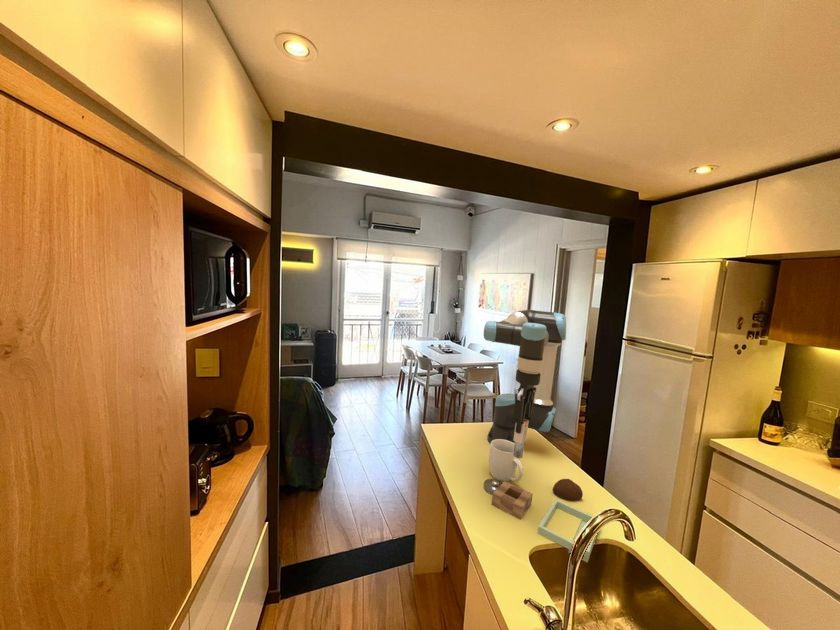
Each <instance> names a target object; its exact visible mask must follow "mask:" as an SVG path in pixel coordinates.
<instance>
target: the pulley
mask: <svg viewBox="0 0 840 630" xmlns="http://www.w3.org/2000/svg"><path fill="white" fill-rule="evenodd" d="M503 482H504V481H500V480H498V479H496V478H487V479H485V480H484V482H483V490H484V491H485V492H486V493H487V494H489V495H491V496H493V493H494V492H495V491H496V490H497V489H498V488H499V486H500V485H501V484H502V483H503Z"/></svg>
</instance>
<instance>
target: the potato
mask: <svg viewBox="0 0 840 630" xmlns="http://www.w3.org/2000/svg"><path fill="white" fill-rule="evenodd" d="M552 492H553V494H554V495H555V496H557V497H559V498H561V499H565V500H567V501H579V500H581V499H582V498H583V495H584V494H583V490H582V488H581V486H580V485H578V483H575V482H574V481H573V480H572V479H570V478H561V479H559V480H558V481H556V483H554V485H553V487H552Z"/></svg>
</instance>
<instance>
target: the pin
mask: <svg viewBox="0 0 840 630" xmlns="http://www.w3.org/2000/svg"><path fill="white" fill-rule="evenodd" d="M524 424H525V425H524V433H523V441H522V443H519V442H516V441H515V445H514V452H513V455H514V456H515V457H517V458H519V459H522V458H523V457H524V449H525V441H526V440H525V434H526V426H527V421H526V420H525V419H524Z"/></svg>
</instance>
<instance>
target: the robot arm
mask: <svg viewBox="0 0 840 630" xmlns="http://www.w3.org/2000/svg"><path fill="white" fill-rule="evenodd" d="M566 319H567V318H566V315H565V314H563V313H559V312H554V311H553V312H552V311H544V310H533V309H524V310H519V311H514V312H512V313H510V314H509V315H508V316H507V317H506V318H504V319H502V320H501V321H496V320H488V321H486V322H485V324H484V326H483V327H484V328H483V339H484V340H485V341H489V342H491V343H498V344H504V345H512V346H517V347H519V350H518V358H516V361H517V367H516V368H517V369H516V373H515V381H516V383H519V387H518V388H517V389H518V390H517V392H515V393H500V394H499V395H497V396H496V398H495V403H494V412H493V418H492V421H493V422H492V425H491V427H490V429H489V431H488V434H487V438H486V439H487V441H488V443H489V445H490V444H491V441H493V440H496V439H503V440H508V441H511V442H513V443H515V441H516V442H519V443H522V441H523V433H524V425H525V424H524V419H525V420H526V421H527V426H526V434H525V441H527V436H528V429H532V430H534V431H538V432H544V433H548V432H550V430H551V428H552V424H553V420H554V417H555V413H556V409H557V408H556V407H554V402H553V400H552V399H551V395H552V387H553V381H554V373H555V368H556V367H555V366H556V360H557V351H558V347H559V346H561V345H562V344H563V341H566V339H567V320H566Z"/></svg>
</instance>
